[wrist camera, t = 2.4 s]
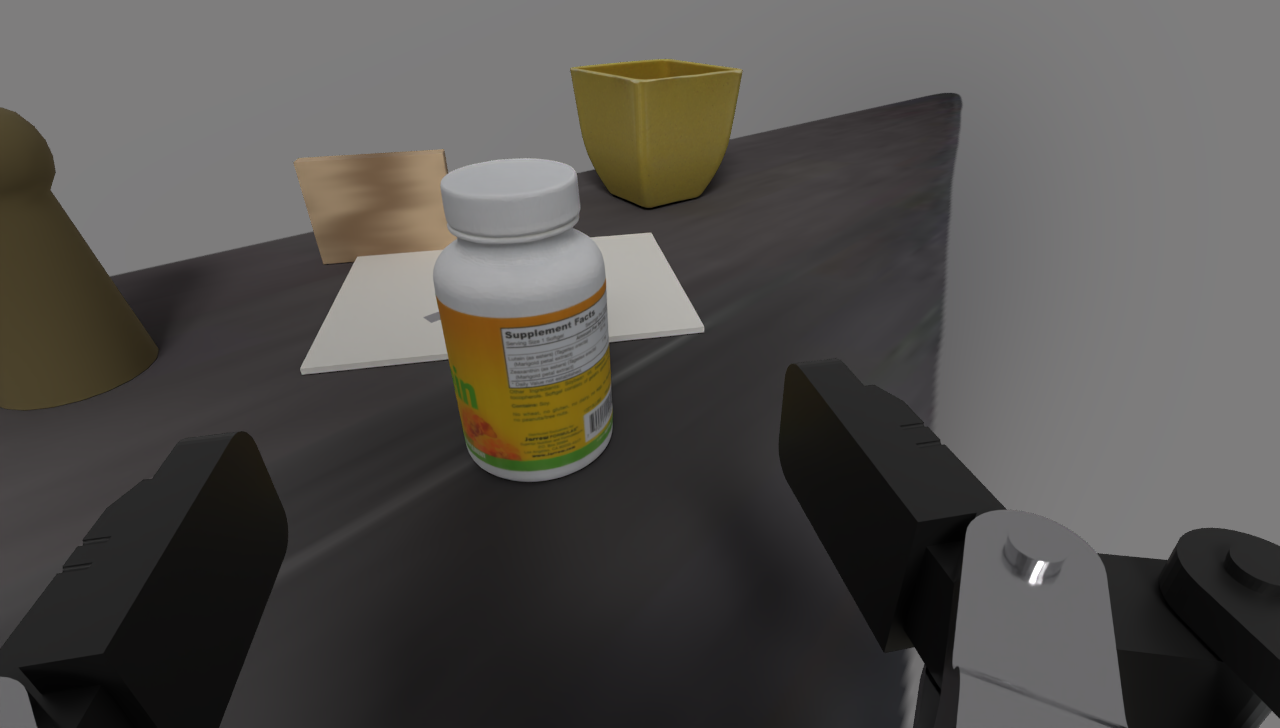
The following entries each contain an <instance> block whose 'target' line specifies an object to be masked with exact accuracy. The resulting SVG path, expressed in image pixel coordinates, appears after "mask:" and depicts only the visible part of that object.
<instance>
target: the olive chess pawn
mask: <svg viewBox="0 0 1280 728" xmlns="http://www.w3.org/2000/svg"><path fill="white" fill-rule="evenodd" d="M55 173H56V172H55V166H54V160H53V155H52V153H51V151H50V149H49V147H48V145H47V142H46V140H45V139H44V138H43V137H42V136H41V134H40V133H39V132H38V131H37V129H36V128H35V127H34V126H33V125H32V124H30V123H29V122H28V121H26V120H25V119H24V118H22V117H21V116H20V115H18V114H17V113H16V112H13V111H10V110H7V109H4V108H0V407H2V408H4V409H14V410H33V409H42V408H51V407H56V406H60V405H64V404H69V403H73V402H77V401H81V400H84V399H87V398H90V397H92V396H95V395H98V394H101V393H104V392H107V391H109V390H111V389H113V388H115V387H117V386H119V385H121V384H123V383H126V382H128V381H130V380H131V379H133V378H134V377H136V376H137V375H139V374H140V373H142V372H143V371H145V370H146V369H148V367H149V366H150V365H151V364H152V363H153V362H154V361H155V359H156V358H157V355H158V347H157V346H156V344H155V343H154V341H153V340H152V338H151V337H150V335H149V334H148V333H147V331H146V330H145V328H144V327H143V325H142V324H141V322H140V321H139V319H138V318H137V316H136V315H135V313H134V312H133V311H132V309H131V308H130V306H129V305H128V303H127V302H126V300H125V299H124V297H123V296H122V294H121V293H120V291H119V290H118V288H117V287H116V286H115V284H114V283H113V281H112V280H111V278H110V277H109V275H108V274H107V272H106V271H105V269H104V268H103V267H102V265H101V264H100V262H99V261H98V259H97V258H96V256H95V255H94V253H93V252H92V250H91V249H90V247H89V246H88V244H87V243H86V242H85V240H84V239H83V237H82V236H81V234H80V233H79V231H78V230H77V228H76V227H75V225H74V224H73V222H72V221H71V220H70V218H69V217H68V215H67V214H66V212H65V211H64V209H63V208H62V206H61V205H60V203H59V202H58V200H57V199H56V198H55V196H54V195H53V193H52V192H51V190H50V189H51V186H52V182H53V179H54V176H55Z"/></svg>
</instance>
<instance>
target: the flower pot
mask: <svg viewBox="0 0 1280 728" xmlns="http://www.w3.org/2000/svg"><path fill="white" fill-rule="evenodd" d="M570 71H571V76H572V81H573V88H574V94H575V99H576V104H577V110H578V116H579V121H580V127H581V132H582V137H583V140H584V144H585V147H586V150H587V153H588V155H589V158H590V160H591V162H592V164H593V166H594V168H595V170H596V172H597V174H598V175H599V177H600V178H601V180H602V182H603V183H604V185H605V186H606V188H607V189H608V190H609V192H610V193H611V194H614V195H616V196H618V197H621V198H623V199H626V200H628V201H631V202H633V203H635V204H637V205H640V206H642V207H645V208H652V207H656V206H660V205H664V204H668V203H673V202H677V201H682V200H686V199H692V198H696V197H698V196H700V195H701V194H702V193H703V191H704V190H705V188H706V187H707V186H708V184H709V183H710V181H711V180H712V178H713V177H714V175H715V173H716V171H717V170H718V168H719V166H720V164H721V161H722V159H723V157H724V155H725V152H726V149H727V146H728V142H729V138H730V134H731V129H732V124H733V119H734V114H735V109H736V103H737V98H738V93H739V87H740V81H741V76H742V71H743V70H741V69H737V68H730V67H723V66H714V65H708V64H700V63H693V62H686V61H679V60H671V59H660V60H659V59H658V60H643V61H632V62H620V63H610V64H600V65H589V66H580V67H572V68H570Z"/></svg>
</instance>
